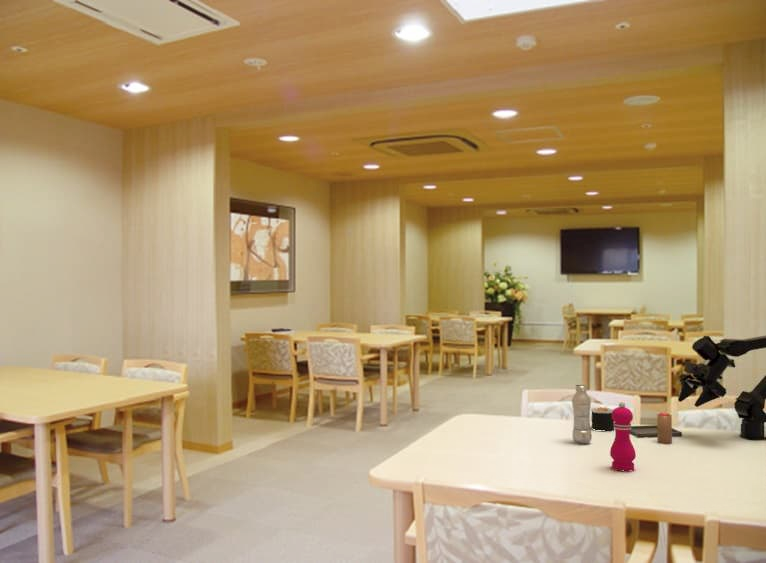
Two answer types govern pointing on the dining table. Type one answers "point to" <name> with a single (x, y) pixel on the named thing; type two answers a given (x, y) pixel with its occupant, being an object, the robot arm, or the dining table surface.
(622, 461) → the pepper mill
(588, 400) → the plastic bottle
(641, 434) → the tray
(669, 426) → the soy sauce bottle
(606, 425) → the sushi
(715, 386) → the robot arm
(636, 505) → the dining table surface
